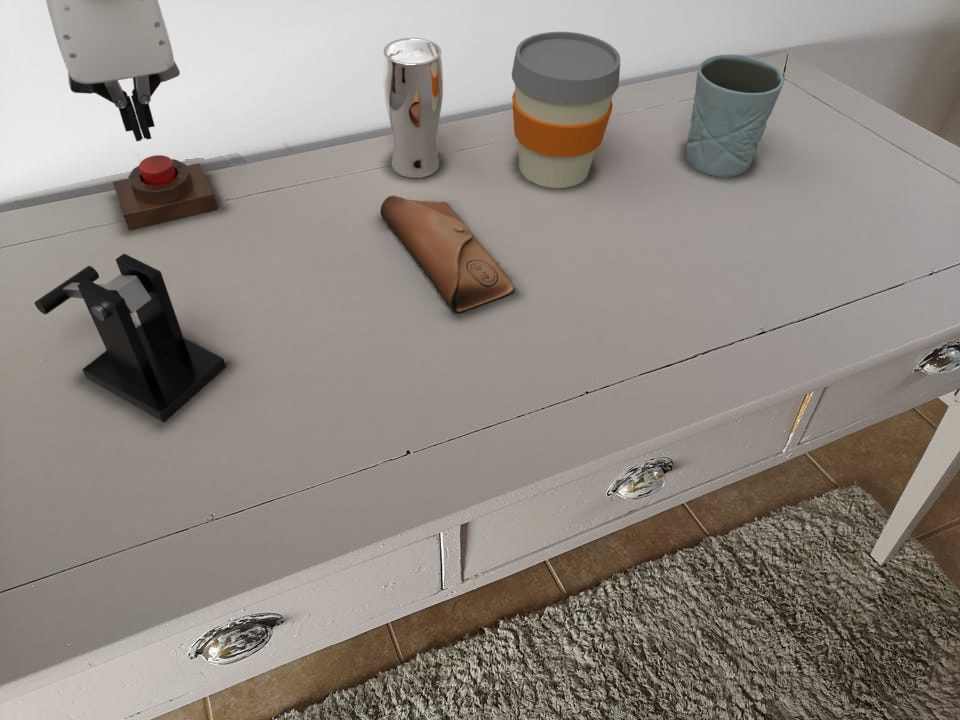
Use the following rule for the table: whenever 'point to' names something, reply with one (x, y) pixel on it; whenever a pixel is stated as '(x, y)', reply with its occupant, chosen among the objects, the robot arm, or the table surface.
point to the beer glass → (413, 103)
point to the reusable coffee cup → (562, 104)
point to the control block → (165, 196)
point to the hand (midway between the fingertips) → (141, 133)
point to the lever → (120, 285)
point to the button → (157, 170)
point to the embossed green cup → (730, 112)
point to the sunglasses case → (447, 252)
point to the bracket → (146, 346)
